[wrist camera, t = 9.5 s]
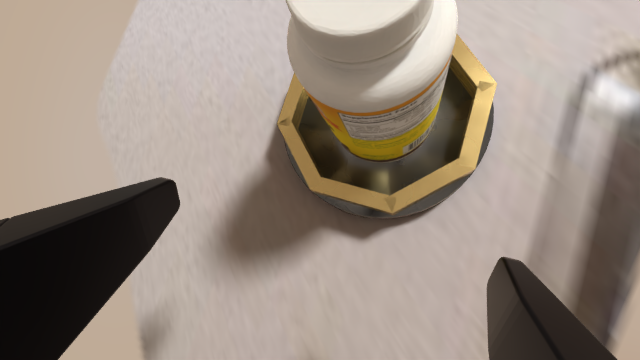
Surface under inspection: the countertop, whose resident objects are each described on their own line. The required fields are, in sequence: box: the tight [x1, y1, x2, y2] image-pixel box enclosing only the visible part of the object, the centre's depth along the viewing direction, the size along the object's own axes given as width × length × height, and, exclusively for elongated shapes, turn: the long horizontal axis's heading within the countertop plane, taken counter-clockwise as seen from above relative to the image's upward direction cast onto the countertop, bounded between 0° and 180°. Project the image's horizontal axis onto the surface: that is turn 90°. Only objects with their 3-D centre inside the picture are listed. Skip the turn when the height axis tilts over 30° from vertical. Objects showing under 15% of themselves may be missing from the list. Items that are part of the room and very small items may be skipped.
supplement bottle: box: [286, 0, 458, 163], centre depth 13 cm, size 6×6×10 cm
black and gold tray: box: [277, 34, 497, 219], centre depth 18 cm, size 12×12×2 cm
